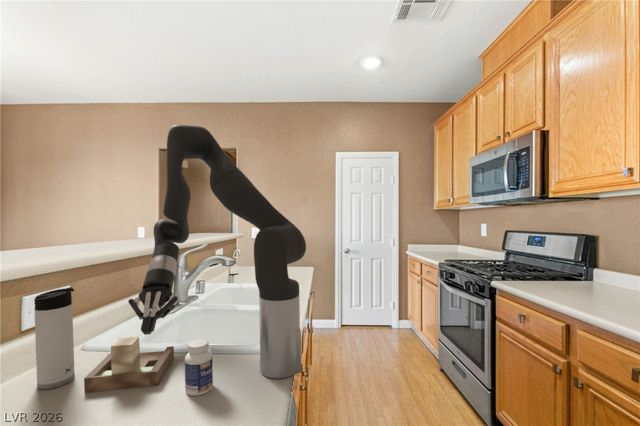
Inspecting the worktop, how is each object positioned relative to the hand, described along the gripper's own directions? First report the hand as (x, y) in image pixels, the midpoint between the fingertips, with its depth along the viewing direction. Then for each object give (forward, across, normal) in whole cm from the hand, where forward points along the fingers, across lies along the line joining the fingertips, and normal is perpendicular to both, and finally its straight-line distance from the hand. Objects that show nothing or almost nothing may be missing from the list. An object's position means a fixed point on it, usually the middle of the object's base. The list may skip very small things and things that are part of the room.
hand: (146, 333), depth 79 cm
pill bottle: (+17, +16, -8) cm, 24 cm away
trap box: (+10, 0, -2) cm, 10 cm away
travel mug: (+10, -15, -2) cm, 18 cm away
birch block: (+11, 0, -6) cm, 12 cm away
